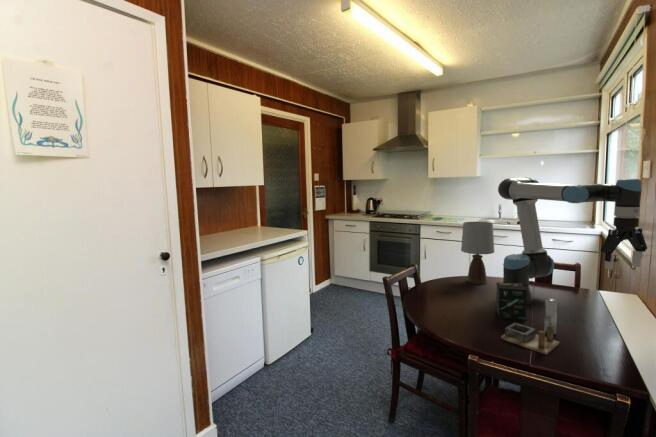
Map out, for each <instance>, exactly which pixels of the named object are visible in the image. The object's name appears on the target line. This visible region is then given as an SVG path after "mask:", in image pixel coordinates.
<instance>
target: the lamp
mask: <svg viewBox="0 0 656 437" xmlns="http://www.w3.org/2000/svg"><path fill="white" fill-rule="evenodd" d="M494 240H495V238H494V223H493V222H489V221H465V222H464V221H463V223H462V235H461V246H460V247H461V248H460V251H461V252H462V253H466V254H469V255H470V254H472V256H471V257H472V259H471V262H470V264H469V267H468V273H467V279H466V280H467V282H468V283H469V284H472V285H485V284H486V285H487V283H488V279H487V271H486V266H485V264H484V261H483V259H482V258H483V257H484V256H483V255H490V254H494V253H495V241H494Z"/></svg>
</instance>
